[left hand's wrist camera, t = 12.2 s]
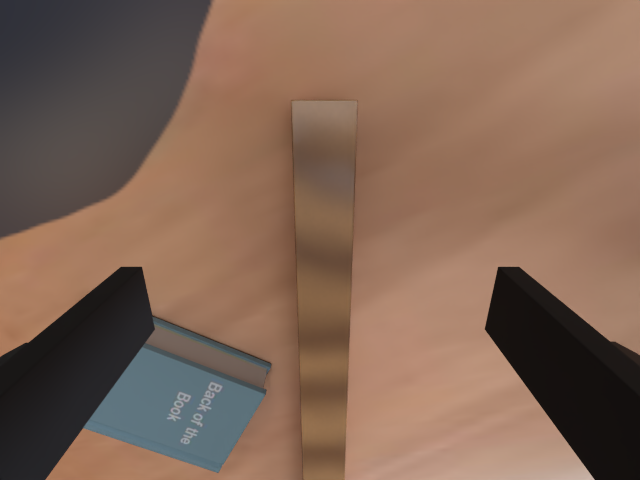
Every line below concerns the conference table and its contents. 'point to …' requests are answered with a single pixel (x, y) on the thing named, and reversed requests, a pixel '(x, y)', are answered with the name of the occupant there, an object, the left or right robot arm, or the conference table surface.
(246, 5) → the conference table surface
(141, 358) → the book
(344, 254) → the bar
